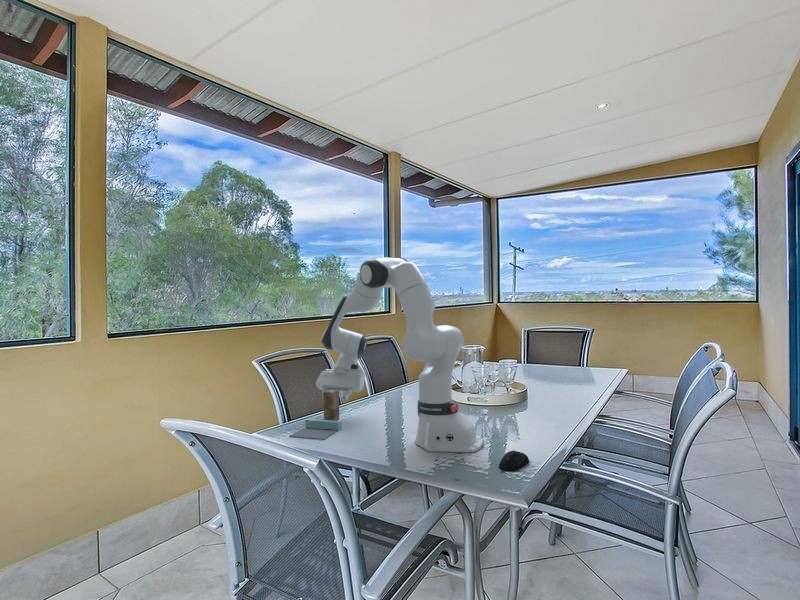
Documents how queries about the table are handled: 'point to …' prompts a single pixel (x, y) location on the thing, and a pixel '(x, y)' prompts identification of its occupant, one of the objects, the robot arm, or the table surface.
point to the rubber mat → (312, 434)
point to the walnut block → (331, 405)
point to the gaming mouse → (513, 461)
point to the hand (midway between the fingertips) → (334, 398)
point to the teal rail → (323, 424)
